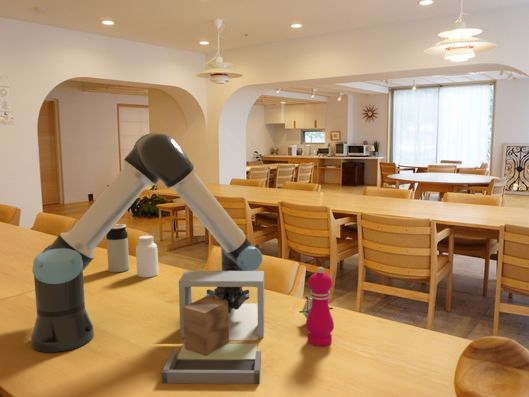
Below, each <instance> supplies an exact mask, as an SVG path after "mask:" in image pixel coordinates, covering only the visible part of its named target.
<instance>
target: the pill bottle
mask: <svg viewBox="0 0 529 397" xmlns="http://www.w3.org/2000/svg"><path fill="white" fill-rule="evenodd" d="M135 258H136V272H137V273H136V275H137V276H138V278H139V277H140V278H142V279H143V278H146V279H148V278H153V277H157V276H158V274H159V259H158V258H159V257H158V245H157V244H156V243H155V242H154V236H152V235H142V236H139V237H138V244H137V245H136V246H135Z"/></svg>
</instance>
